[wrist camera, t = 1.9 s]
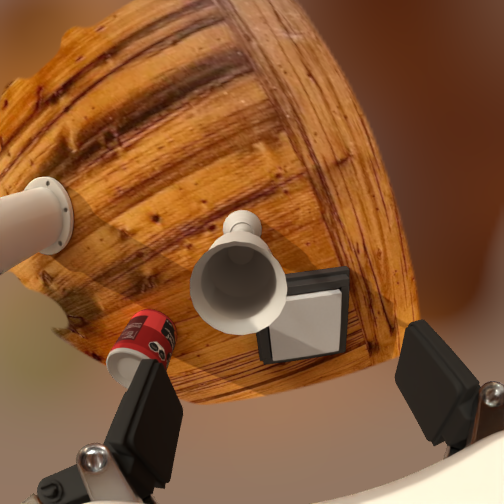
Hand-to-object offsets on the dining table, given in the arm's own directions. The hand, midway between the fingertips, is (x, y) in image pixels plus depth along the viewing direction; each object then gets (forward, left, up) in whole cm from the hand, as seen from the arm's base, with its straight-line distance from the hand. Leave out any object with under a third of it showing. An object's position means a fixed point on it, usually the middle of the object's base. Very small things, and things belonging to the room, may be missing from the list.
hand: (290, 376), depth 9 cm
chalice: (-2, -1, -28) cm, 28 cm away
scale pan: (+5, -15, -25) cm, 30 cm away
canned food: (-18, -15, -28) cm, 37 cm away
